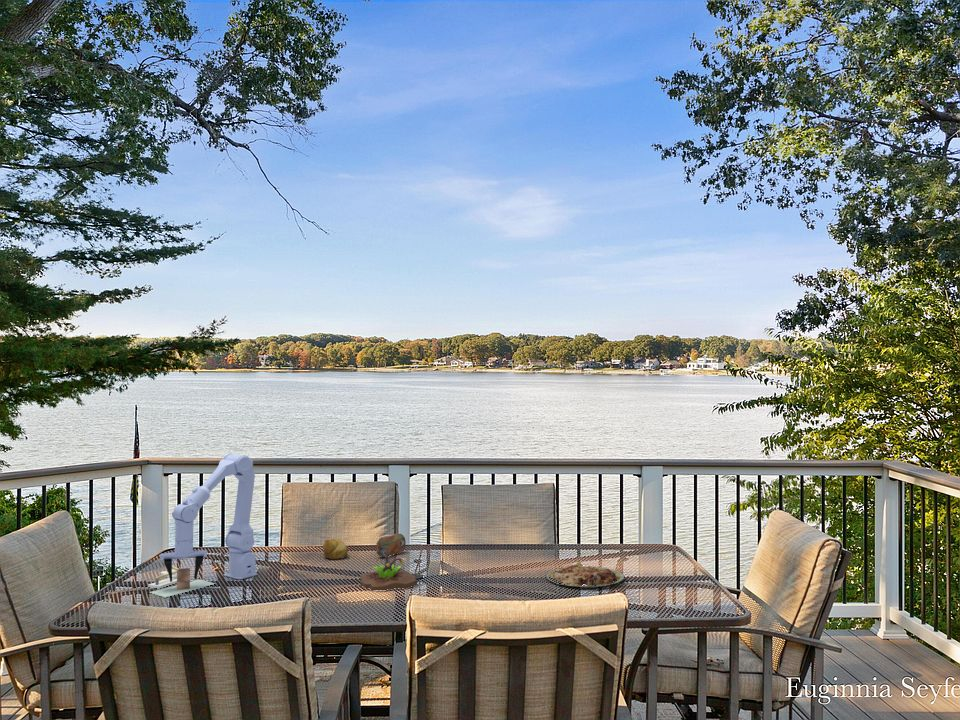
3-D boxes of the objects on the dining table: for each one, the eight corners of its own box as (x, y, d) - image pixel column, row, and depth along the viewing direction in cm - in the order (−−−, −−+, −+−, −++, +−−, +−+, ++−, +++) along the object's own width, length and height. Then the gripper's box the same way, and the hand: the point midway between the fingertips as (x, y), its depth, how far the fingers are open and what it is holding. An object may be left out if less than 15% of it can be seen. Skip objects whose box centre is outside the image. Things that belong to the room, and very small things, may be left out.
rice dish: (536, 588, 252) (536, 572, 252) (559, 566, 277) (559, 552, 277) (614, 598, 241) (614, 582, 241) (631, 575, 266) (631, 560, 266)
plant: (406, 574, 266) (406, 543, 266) (423, 588, 248) (423, 555, 248) (353, 579, 258) (353, 548, 258) (366, 594, 240) (366, 560, 240)
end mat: (215, 584, 248) (215, 583, 248) (165, 598, 233) (165, 596, 233) (199, 580, 253) (199, 579, 253) (149, 593, 238) (149, 592, 238)
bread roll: (323, 553, 295) (323, 534, 295) (347, 552, 297) (347, 533, 297) (322, 561, 282) (322, 540, 283) (347, 560, 284) (347, 540, 285)
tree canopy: (380, 559, 285) (380, 538, 286) (374, 558, 287) (375, 537, 288) (406, 552, 297) (406, 532, 298) (400, 551, 299) (400, 531, 300)
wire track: (199, 578, 255) (200, 568, 256) (156, 590, 242) (156, 579, 242) (172, 571, 265) (172, 561, 265) (128, 582, 251) (129, 571, 251)
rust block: (189, 585, 246) (189, 568, 246) (189, 588, 242) (190, 570, 242) (176, 586, 244) (177, 569, 244) (176, 590, 240) (177, 572, 241)
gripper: (206, 535, 250) (205, 574, 250) (161, 538, 244) (160, 578, 244) (207, 539, 244) (206, 579, 243) (160, 543, 238) (159, 584, 237)
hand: (183, 579), depth 243 cm, fingers open, 7 cm apart
